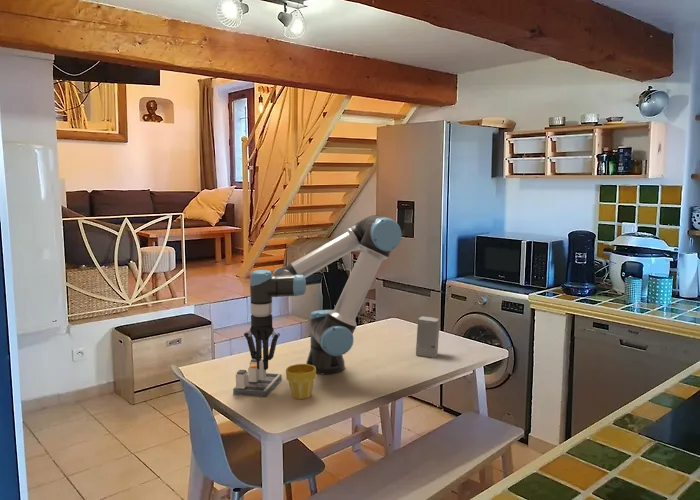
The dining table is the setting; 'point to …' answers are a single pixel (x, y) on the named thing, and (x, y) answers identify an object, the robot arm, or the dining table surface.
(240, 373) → the breaker
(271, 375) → the panel
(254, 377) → the block
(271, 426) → the dining table surface
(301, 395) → the plant pot
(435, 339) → the skincare box
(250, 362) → the block
